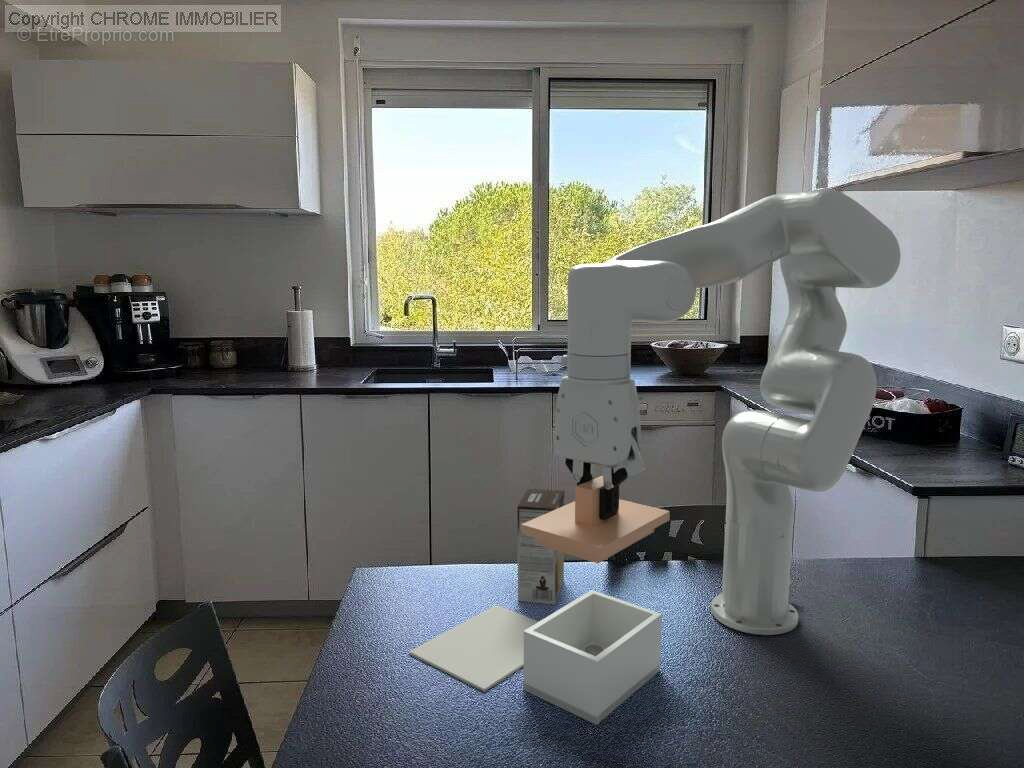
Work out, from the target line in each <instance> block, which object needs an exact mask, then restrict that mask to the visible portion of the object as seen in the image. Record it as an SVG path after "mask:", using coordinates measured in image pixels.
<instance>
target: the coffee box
mask: <svg viewBox="0 0 1024 768" xmlns="http://www.w3.org/2000/svg"><path fill="white" fill-rule="evenodd" d="M563 506H565V490H563V489H562V490H561V489H560V490H559V489H557V490H556V489H536V488H534V489H533V488H528V489H527V490H526V491H525V493H524V495H523V496H522V499H520V501H519V503H518V504H517V506H516V507H517V512H516V513H517V600H518V602H521V601H523V602H524V603H532V602H533V603H534V604H535V603H536V604H545V605H547V604H548V605H557V603H558V599H559V596H560V593H561V590H562V587H563V584H564V581H565V574H564V573H565V571H564V570H565V566H564V565H565V553H562V552H559V551H556V550H553V549H549V548H546V547H543V546H540V545H538V539H537V538H534V537H530V536H527V535H524V534H521V524H523V523H526V522H528V521H530V520H532V519H535V518H537V517H539V516H542V515H544V514H546V513H549V512H551V511H553V510H556V509H558V508H560V507H563Z"/></svg>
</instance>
